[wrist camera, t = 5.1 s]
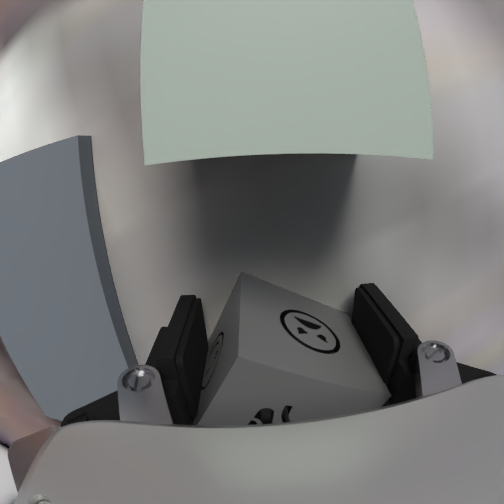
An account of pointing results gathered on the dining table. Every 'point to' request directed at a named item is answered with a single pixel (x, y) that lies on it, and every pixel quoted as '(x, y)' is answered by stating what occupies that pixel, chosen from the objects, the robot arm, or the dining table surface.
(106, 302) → the slate mat
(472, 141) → the dining table surface
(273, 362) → the dice cube
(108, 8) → the dining table surface
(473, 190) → the dining table surface
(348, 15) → the sage block
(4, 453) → the flower in vase
